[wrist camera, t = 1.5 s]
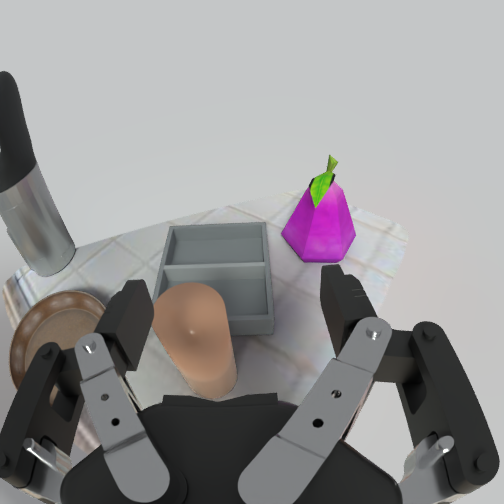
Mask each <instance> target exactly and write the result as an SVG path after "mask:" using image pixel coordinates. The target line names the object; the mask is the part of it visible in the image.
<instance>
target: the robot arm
mask: <svg viewBox="0 0 504 504" xmlns="http://www.w3.org/2000/svg"><path fill="white" fill-rule="evenodd" d="M0 149H1V152H0V215H1V217H2V219H3V221H4V222H5V224H6V226H7V227H8V228H7V233H8V235H9V236H10V238H11V240H12V241H13V243H14V245H15V246H16V248H17V249H18V251H19V252H20V254H21V255H22V257H23V258H24V260H25V261H26V263H27V264H28V266H29V267H30V269H31V270H35V272H36V273H37V274H38V275H40V276H50V275H53V274H55V273H57V272H59V271H60V270H62V269H63V268H64V267H65V266H66V265H67V264H68V263H69V262H70V260H71V259H72V257H73V255H74V252H75V245H74V242H73V240H72V238H71V237H70V235H69V233H68V231H67V229H66V226H65V225H64V222H63V220H62V218H61V216H60V214H59V212H58V210H57V208H56V206H55V204H54V201H53V199H52V197H51V195H50V192H49V190H48V188H47V186H46V183H45V181H44V178H43V176H42V174H41V171H40V169H39V166H38V164H37V161H36V158H35V156H34V152H33V149H32V143H31V139H30V135H29V132H28V129H27V125H26V121H25V118H24V113H23V108H22V104H21V99H20V95H19V91H18V87H17V84H16V82H15V80H14V78H13V77H12V75H11V74H10V73H8V72H5V71H2V72H0ZM320 301H321V307H322V311H323V314H324V317H325V321H326V324H327V327H328V331H329V334H330V337H331V341H332V344H333V348H334V351H335V355H336V358H332V359H331V361H330V362H329V363H328V365H327V366H326V368H325V369H324V371H323V373H322V374H321V376H320V377H319V379H318V380H317V382H316V383H315V384H314V386H313V387H312V389H311V390H310V392H309V393H308V395H307V396H306V397H305V399H304V400H303V402H302V403H301V404H300V406H297V405H294V404H292V403H288V402H284V401H278V398H277V393H268V394H253V395H245V396H241V397H238V398H234V399H229V400H225V401H221V402H215V401H210V400H206V399H201V398H197V397H193V396H179V395H164V396H163V401H162V403H159V404H155V405H152V406H150V407H148V408H146V409H144V410H143V408H142V406H141V405H140V403H139V401H138V399H137V397H136V395H135V393H134V391H133V390H132V388H131V386H130V384H129V382H128V380H127V378H126V376H125V374H126V371H136V370H137V367H138V364H139V360H140V357H141V354H142V351H143V348H144V345H145V342H146V339H147V336H148V333H149V330H150V327H151V325H152V322H153V319H154V306H153V303H152V300H151V298H150V295H149V292H148V289H147V286H146V283H145V281H144V280H143V279H141V280H128V281H127V282H126V284H125V285H124V287H123V289H122V291H119V292H117V293H116V294H115V295H114V296H113V297H112V298H111V300H110V302H109V303H108V305H107V307H106V309H105V311H104V313H103V315H102V316H101V318H100V320H99V322H98V324H97V326H96V328H95V330H94V332H93V333H89V334H86V335H84V336H83V337H81V338H80V339H79V340H78V341H77V343H76V345H75V347H74V348H69V349H64V350H61V348H60V346H59V345H58V344H57V343H56V342H48V343H45V344H44V345H42V346H41V347H40V348H39V349H38V350H37V352H36V354H35V355H34V357H33V359H32V361H31V363H30V365H29V367H28V369H27V371H26V374H25V376H24V378H23V380H22V382H21V384H20V386H19V389H18V391H17V393H16V395H15V398H14V400H13V403H12V405H11V407H10V410H9V412H8V415H7V417H6V420H5V422H4V425H3V428H2V431H1V433H0V478H2V479H3V480H5V481H7V482H8V483H10V484H11V485H12V486H13V487H15V488H17V489H18V490H20V491H22V492H24V493H25V494H27V495H29V496H31V497H33V498H36V499H38V500H40V501H42V502H44V503H46V504H55V503H57V504H450V503H452V502H454V501H456V500H458V499H460V498H462V497H464V496H466V495H467V494H469V493H471V492H473V491H475V490H476V489H478V488H480V487H481V486H483V485H485V484H487V483H488V482H489V481H491V480H492V479H493V478H494V476H495V475H496V473H497V471H498V469H499V462H500V461H499V455H498V452H497V449H496V446H495V444H494V440H493V437H492V435H491V432H490V429H489V427H488V424H487V421H486V419H485V416H484V414H483V411H482V409H481V406H480V404H479V402H478V399H477V397H476V395H475V392H474V390H473V388H472V386H471V384H470V382H469V379H468V377H467V375H466V373H465V371H464V369H463V367H462V365H461V363H460V361H459V359H458V357H457V355H456V353H455V351H454V349H453V347H452V345H451V343H450V342H449V340H448V338H447V336H446V334H445V332H444V331H443V329H442V328H441V327H440V326H439V325H437V324H435V323H433V322H427V321H424V322H420V323H418V324H416V325H415V326H414V328H413V331H401V330H394V329H392V328H391V326H390V325H389V324H388V323H387V322H386V321H385V320H383V319H381V318H378V317H377V315H376V312H375V310H374V308H373V306H372V304H371V302H370V301H369V299H368V297H367V296H366V293H365V291H364V290H363V287H362V285H361V283H360V281H359V280H358V279H357V278H355V277H354V276H353V275H351V274H349V275H344V273H343V271H342V269H341V267H340V265H339V264H336V265H326V266H322V269H321V288H320ZM375 381H378V382H393V383H396V386H397V389H398V392H399V396H400V399H401V402H402V406H403V409H404V412H405V416H406V419H407V423H408V427H409V430H410V434H411V438H412V442H413V446H414V450H413V451H412V452H411V453H410V454H409V455H408V456H407V458H406V460H405V463H404V476H403V479H402V481H401V482H400V483H399V484H397V482H396V481H395V480H394V479H393V478H392V477H391V476H390V475H389V474H387V473H386V472H385V471H383V470H382V469H380V468H379V467H378V466H377V465H375V464H374V463H372V462H371V461H370V460H368V459H367V458H366V457H364V456H363V455H361V454H360V453H359V452H358V451H357V450H355V449H354V448H353V447H351V446H350V445H349V444H347V443H346V442H345V440H346V438H347V436H348V434H349V433H350V431H351V429H352V427H353V425H354V423H355V421H356V419H357V417H358V415H359V413H360V411H361V409H362V407H363V405H364V403H365V401H366V399H367V397H368V395H369V393H370V391H371V389H372V387H373V385H374V383H375ZM54 385H55V386H56V387H57V389H58V391H57V394H56V397H55V399H54V402H53V405H52V407H51V405H50V395H51V392H52V390H53V387H54ZM84 402H86V405H87V408H88V410H89V413H90V416H91V419H92V421H93V424H94V427H95V429H96V432H97V434H98V437H99V439H100V442H101V445H100V446H99V447H98V448H96V449H95V450H94V451H93V452H92V453H90V454H89V455H88V456H87V457H86V458H84V459H83V460H82V461H80V462H79V463H78V464H77V465H76V466H74V467H73V468H72V463H71V460H70V458H69V457H70V452H71V448H72V444H73V440H74V437H75V433H76V429H77V426H78V422H79V419H80V415H81V412H82V408H83V405H84Z"/></svg>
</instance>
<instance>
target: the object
mask: <svg viewBox="0 0 504 504" xmlns="http://www.w3.org/2000/svg"><path fill="white" fill-rule="evenodd" d="M105 309H106V307H105V306H104V305H103V304H102V302H101V301H99V300H98V299H97V298H96V297H94V296H93V295H91V294H89V293H86V292H83V291H77V290H66V291H61V292H57V293H54V294H51V295H49V296H47V297H45V298H44V299H42V300H41V301H39V302H38V303H36V304H35V305H34V306H33V307H32V308H31V309H30V310H29V311H28V312H27V313H26V314H25V316H24V317H23V318H22V320H21V321H20V323H19V325H18V326H17V328H16V330H15V333H14V335H13V338H12V341H11V345H10V351H9V371H10V376H11V379H12V382H13V385H14V387H15V389H16V391H18V389H19V386H20V384H21V382H22V380H23V378H24V376H25V374H26V371H27V369H28V367H29V365H30V363H31V361H32V359H33V357H34V355H35V354H36V352H37V350H38V349H39V348H40V347H41V346H42V345H44V344H45V343H48V342H56V343H57V344H58V345H59V346H60V348H61V350H64V349H69V348H74V347H75V345H76V343H77V341H78V340H79V339H80V338H81V337H83V336H84V335H86V334H89V333H93V332H94V330H95V328H96V326H97V324H98V322H99V320H100V318H101V316H102V315H103V313H104V311H105ZM57 391H58V389H57V387H56V386H55V385H54V387H53V390H52V392H51V395H50V405H51V407H52V405H53V402H54V399H55V397H56V394H57Z"/></svg>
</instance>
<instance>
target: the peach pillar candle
mask: <svg viewBox="0 0 504 504" xmlns="http://www.w3.org/2000/svg"><path fill="white" fill-rule="evenodd" d="M152 327H153V329H154V331H155V333H156V335H157V336H158V338H159V340H160V341H161V343H162V345H163V346H164V348H165V349H166V351H167V353H168V354H169V356H170V357H171V359H172V361H173V362H174V364H175V365H176V367H177V368H178V370H179V371H180V373H181V374H182V376H183V377H184V379H185V380H186V382H187V383H188V385H189V386H190V388H191V389H192V390H193V391H194V392H195V393H196V394H198V395H199V396H201V397H204V398H210V399H214V398H219V397H222V396H224V395H226V394H228V393H229V392H230V391H231V390H232V389H233V388H234V386H235V384H236V381H237V368H236V363H235V358H234V352H233V347H232V342H231V336H230V331H229V325H228V320H227V314H226V308H225V303H224V301H223V299H222V297H221V296H220V294H219V293H218V292H217V291H216V290H214V289H213V288H211V287H210V286H207V285H205V284H201V283H193V282H190V283H182V284H179V285H176V286H173V287H171V288H169V289H168V290H166V291H165V292H164V293H163V294H161V296H160V297H159V298H158V299H157V300H156V302H155V304H154V319H153V322H152Z"/></svg>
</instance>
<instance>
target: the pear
mask: <svg viewBox="0 0 504 504" xmlns="http://www.w3.org/2000/svg"><path fill="white" fill-rule="evenodd" d="M337 163H338V162H337V161H336V160H335V159H334V158H333V157H331V155H329V160H328V166H327V171H326V172H325V173H323V174H321V175H319V176H317V177H315V178H313V179H312V180H311V182H310V184H309V187H308V188H307V190H306V192H305V193H304V195H303V197H302V199H301V200H300V202H299V204H298V205H297V207H296V209H295V211H294V212H293V214H292V216H291V218H290V219H289V221H288V223H287V224H286V226H285V228H284V230H283V231H282V233H281V234H282V236H283V237H284V238H285V240H286V241H287V242H288V243H289V245H290V246H291V247H292V248H293V249H294V251H295V252H296V253H297V254H298V255H299V257H300V258H301V259H302V260H303V261H304V262H320V263H337V262H339V261H341V260H342V259H343V258H344V256H345V254H346V252H347V251H348V249H349V247H350V245H351V243H352V242H353V240H354V238H355V236H356V233H355V230H354V226H353V223H352V219H351V216H350V212H349V209H348V205H347V202H346V199H345V195H344V193H343V190H342V189H341V188H340V187H339V186H338V185H337V184H336V183H335V182H334V177H335V174H334V173H332V171H333V169H334V168H335V166H336V165H337Z"/></svg>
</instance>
